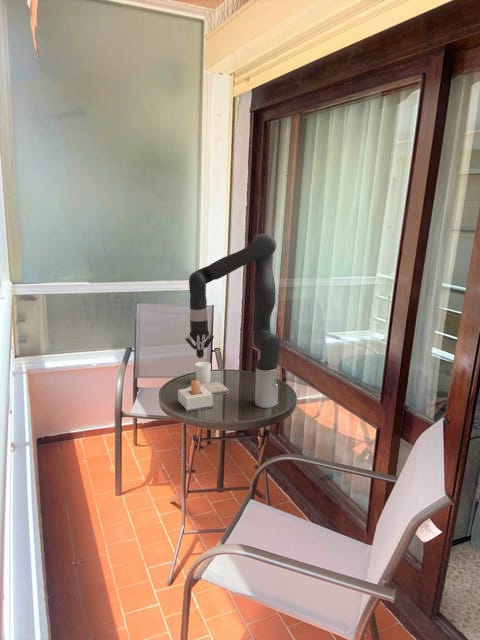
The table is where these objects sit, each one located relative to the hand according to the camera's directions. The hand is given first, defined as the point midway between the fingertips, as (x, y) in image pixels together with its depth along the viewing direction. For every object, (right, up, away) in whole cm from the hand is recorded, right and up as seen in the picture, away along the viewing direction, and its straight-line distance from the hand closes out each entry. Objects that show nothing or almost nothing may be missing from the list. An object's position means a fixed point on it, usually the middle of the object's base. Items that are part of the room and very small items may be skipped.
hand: (200, 357), depth 210 cm
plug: (-2, -21, +5) cm, 21 cm away
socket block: (-3, -22, +6) cm, 22 cm away
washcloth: (+2, -19, +22) cm, 29 cm away
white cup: (-1, -16, +33) cm, 37 cm away
